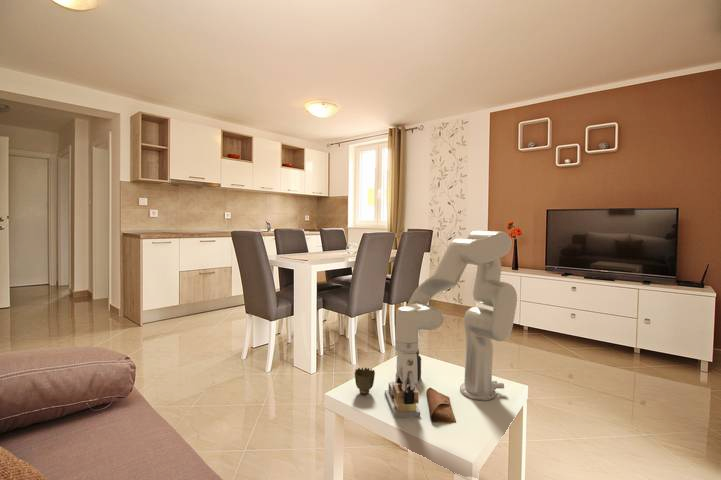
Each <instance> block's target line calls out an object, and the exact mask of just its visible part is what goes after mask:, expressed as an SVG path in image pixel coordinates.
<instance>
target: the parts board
mask: <svg viewBox="0 0 721 480" xmlns="http://www.w3.org/2000/svg"><path fill="white" fill-rule="evenodd" d="M384 396H385V398H386V400H387V401H386V402H387V403H388V406H389V409H390V411H391V413H392V415H393V418H394V419H399V418H401V419H402V418H417V417H418V418H420V417H421V411H420V409H419V407H418V405H417V404H416V412H398V411H397V409H396V407H395V404H394V399H392V398H391V395H390V393H389V391H388V389H384Z"/></svg>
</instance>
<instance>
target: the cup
mask: <svg viewBox="0 0 721 480" xmlns="http://www.w3.org/2000/svg"><path fill="white" fill-rule="evenodd" d="M354 371H355V372H354V379H355V380H354V381H355V385H356V388H357V389H358V390H359V391H358V392H359V393H360V395H368V394H369V393H370V390H371V389H372V388H373V386H374V383H375V382H374V381H375V377H376V376H375V375H376V371H375V370H374V369H372V368H369V367H368V368H367V367H365V368H364V367H362V368H359V367H358V368H356V369H355V370H354Z"/></svg>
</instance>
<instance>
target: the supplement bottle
mask: <svg viewBox="0 0 721 480" xmlns="http://www.w3.org/2000/svg"><path fill="white" fill-rule="evenodd" d="M416 354H417V370H418V382H419V381H420V380H421V378H422V357H421V356H420V355H419V354H420V349H419V348H418V352H416ZM407 382H409V380H407Z"/></svg>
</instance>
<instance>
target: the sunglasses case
mask: <svg viewBox="0 0 721 480" xmlns="http://www.w3.org/2000/svg"><path fill="white" fill-rule="evenodd" d="M425 394H426V400H427V401H426V402H427V406H428V410H429V418H430V420H431V422H432V423H442V424H443V423H444V424H445V423H446V424H457V420H456V417H455V413H454V410H453V408H452V404H451V400H450V397H449V396H448V395H445V394H444V393H442V392H439V391H437V390H435V389H434V388H432V387H427V389H426V391H425Z"/></svg>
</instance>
